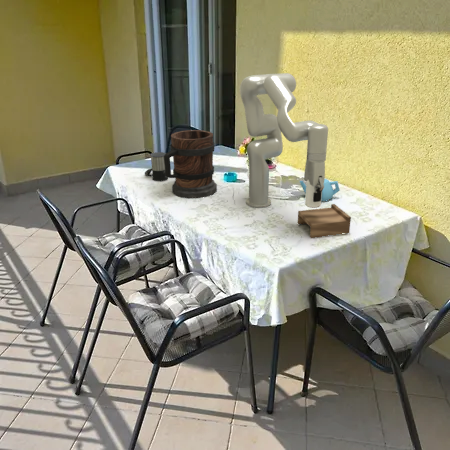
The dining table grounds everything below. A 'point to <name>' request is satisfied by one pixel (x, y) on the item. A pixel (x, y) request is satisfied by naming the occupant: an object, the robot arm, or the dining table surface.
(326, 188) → the teapot
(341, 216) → the shelf
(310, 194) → the can
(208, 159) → the wooden tankard
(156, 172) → the milk frother
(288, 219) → the dining table surface
